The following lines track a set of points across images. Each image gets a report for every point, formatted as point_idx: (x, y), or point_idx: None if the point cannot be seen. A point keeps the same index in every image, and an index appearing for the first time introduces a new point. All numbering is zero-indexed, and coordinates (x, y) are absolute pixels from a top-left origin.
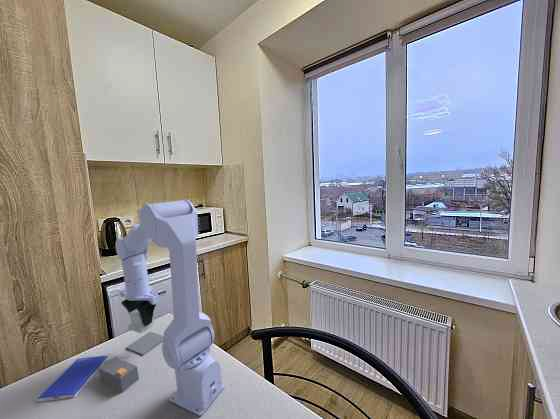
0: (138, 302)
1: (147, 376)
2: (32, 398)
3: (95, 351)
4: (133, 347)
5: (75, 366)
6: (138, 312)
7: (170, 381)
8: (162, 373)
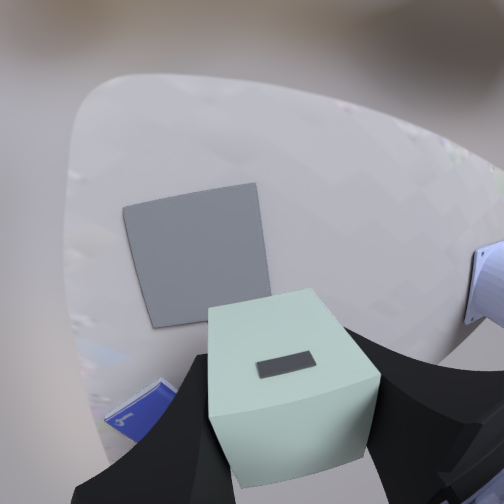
0: (214, 491)
1: (377, 332)
2: None
3: (85, 377)
4: (184, 311)
5: (142, 434)
6: (320, 459)
7: (440, 299)
8: (407, 301)
